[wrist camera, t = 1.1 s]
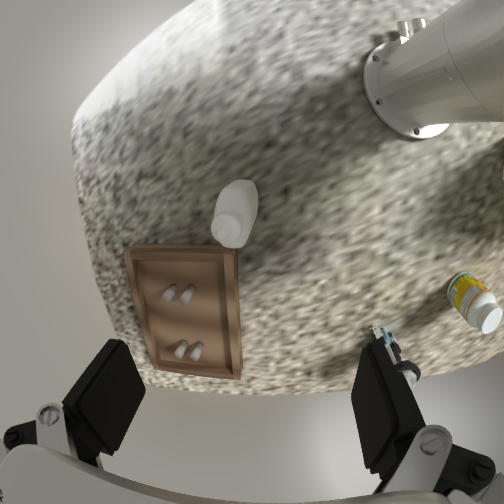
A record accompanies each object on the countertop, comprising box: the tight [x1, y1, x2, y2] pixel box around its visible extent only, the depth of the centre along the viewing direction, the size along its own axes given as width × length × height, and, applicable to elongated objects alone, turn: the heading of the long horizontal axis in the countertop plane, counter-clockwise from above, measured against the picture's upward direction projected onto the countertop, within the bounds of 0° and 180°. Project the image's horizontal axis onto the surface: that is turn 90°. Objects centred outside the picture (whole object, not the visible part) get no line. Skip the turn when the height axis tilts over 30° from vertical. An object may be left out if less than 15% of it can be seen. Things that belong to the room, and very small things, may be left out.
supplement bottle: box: [447, 272, 502, 334], centre depth 27 cm, size 5×5×10 cm
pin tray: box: [123, 244, 243, 380], centre depth 35 cm, size 20×14×4 cm
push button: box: [372, 325, 421, 390], centre depth 31 cm, size 7×5×10 cm
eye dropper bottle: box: [210, 179, 259, 248], centre depth 25 cm, size 4×6×12 cm
